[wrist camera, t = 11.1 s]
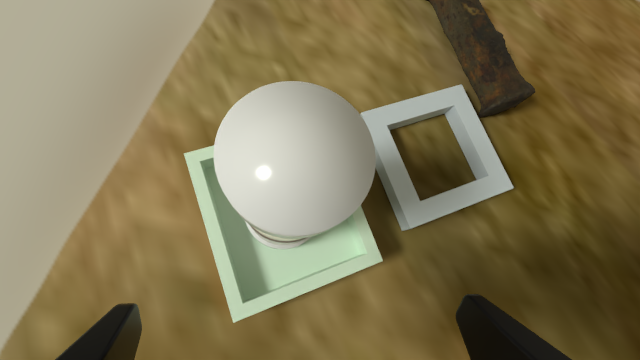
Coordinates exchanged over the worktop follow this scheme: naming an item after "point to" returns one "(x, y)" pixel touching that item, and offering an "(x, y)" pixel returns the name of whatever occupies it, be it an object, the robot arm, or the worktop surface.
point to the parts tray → (273, 264)
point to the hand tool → (482, 55)
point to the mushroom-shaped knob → (293, 161)
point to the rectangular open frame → (469, 138)
